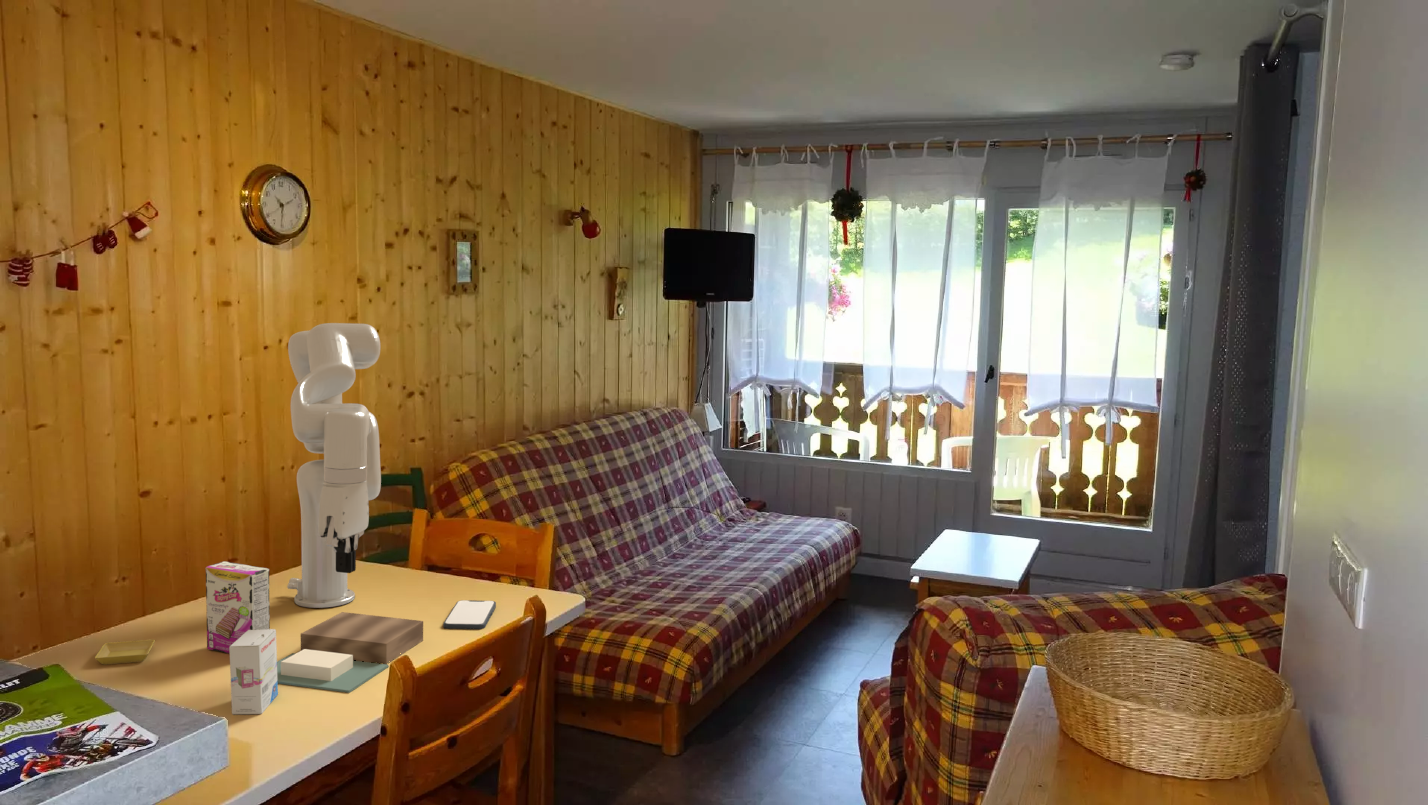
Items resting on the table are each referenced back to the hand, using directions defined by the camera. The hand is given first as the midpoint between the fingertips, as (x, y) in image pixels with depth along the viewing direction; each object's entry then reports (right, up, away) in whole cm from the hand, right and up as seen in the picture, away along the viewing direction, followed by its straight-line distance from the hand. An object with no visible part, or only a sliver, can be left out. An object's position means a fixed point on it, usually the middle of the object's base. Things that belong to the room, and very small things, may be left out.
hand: (345, 571), depth 194 cm
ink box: (-8, -19, -21) cm, 30 cm away
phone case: (+17, -15, +28) cm, 36 cm away
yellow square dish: (-40, -16, -2) cm, 43 cm away
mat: (-2, -17, -7) cm, 19 cm away
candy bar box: (-22, -16, +3) cm, 27 cm away
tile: (-3, -16, -7) cm, 18 cm away
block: (+1, -16, +7) cm, 18 cm away
